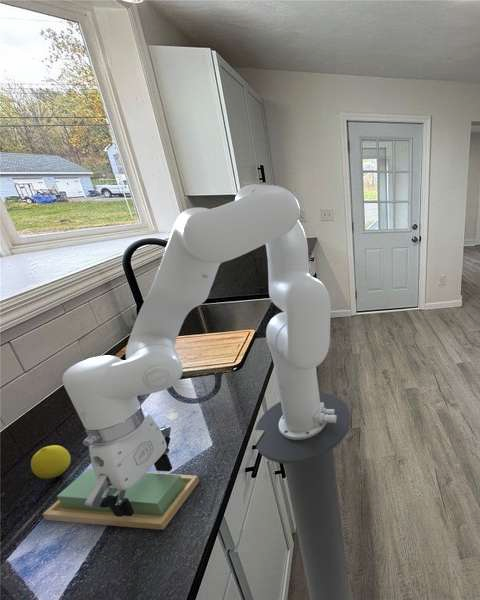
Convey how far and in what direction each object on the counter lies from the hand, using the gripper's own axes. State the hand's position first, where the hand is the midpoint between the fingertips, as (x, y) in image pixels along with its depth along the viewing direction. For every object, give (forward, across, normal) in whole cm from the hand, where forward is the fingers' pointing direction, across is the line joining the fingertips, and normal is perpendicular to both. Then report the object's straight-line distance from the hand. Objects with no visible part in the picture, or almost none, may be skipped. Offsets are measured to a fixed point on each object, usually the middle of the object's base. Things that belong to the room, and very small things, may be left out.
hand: (146, 490), depth 62 cm
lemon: (+3, +4, +25) cm, 26 cm away
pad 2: (+3, 0, 0) cm, 3 cm away
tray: (+3, 0, +5) cm, 6 cm away
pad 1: (+3, 0, +11) cm, 11 cm away
